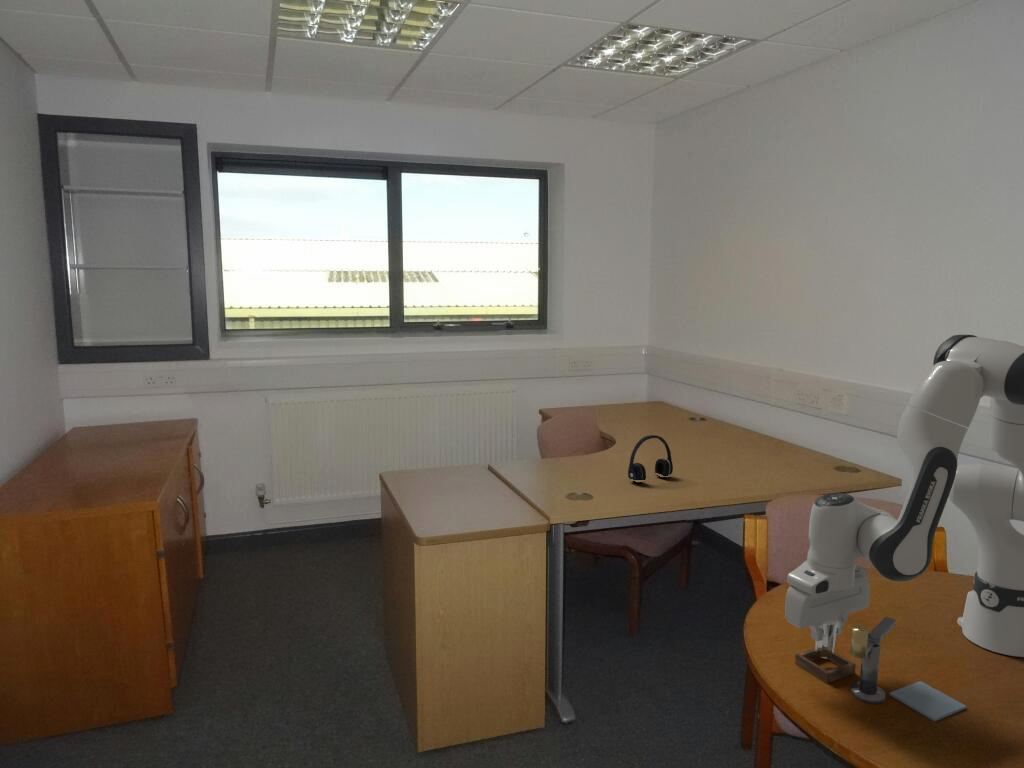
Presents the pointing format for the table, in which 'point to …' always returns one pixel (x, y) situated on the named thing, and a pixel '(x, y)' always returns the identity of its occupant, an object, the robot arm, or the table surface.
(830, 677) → the brown square frame
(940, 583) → the table surface
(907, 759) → the table surface
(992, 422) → the robot arm
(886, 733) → the table surface
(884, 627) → the lever
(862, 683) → the latch post
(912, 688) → the pad
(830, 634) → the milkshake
